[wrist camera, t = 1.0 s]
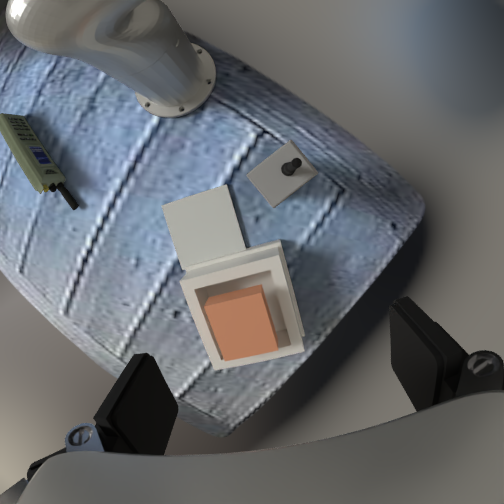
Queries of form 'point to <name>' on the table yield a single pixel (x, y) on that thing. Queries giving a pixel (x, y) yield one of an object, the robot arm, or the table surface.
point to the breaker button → (242, 323)
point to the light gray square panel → (204, 226)
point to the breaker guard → (239, 277)
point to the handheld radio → (33, 157)
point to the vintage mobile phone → (282, 173)
